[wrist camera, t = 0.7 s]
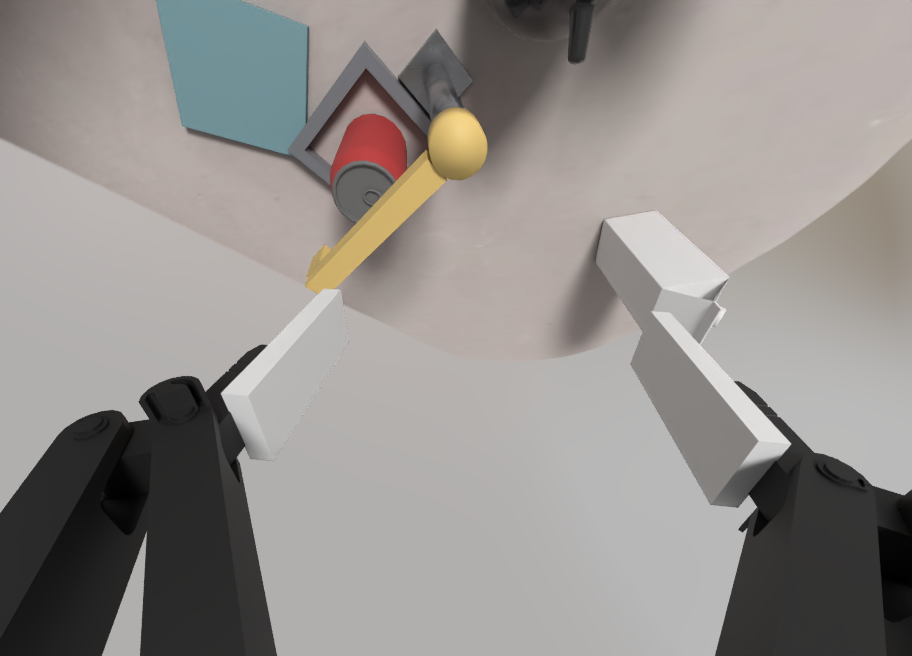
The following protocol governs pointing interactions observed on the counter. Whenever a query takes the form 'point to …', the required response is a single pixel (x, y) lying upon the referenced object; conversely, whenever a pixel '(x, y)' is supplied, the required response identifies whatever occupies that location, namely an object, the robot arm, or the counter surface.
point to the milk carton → (660, 272)
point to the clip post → (436, 76)
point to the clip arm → (405, 195)
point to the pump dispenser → (552, 21)
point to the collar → (334, 97)
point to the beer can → (366, 164)
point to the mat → (237, 70)
